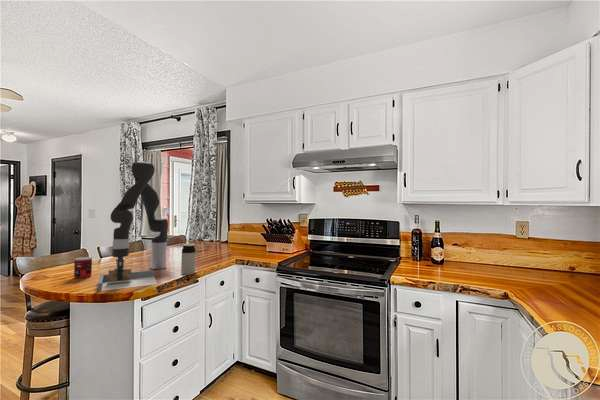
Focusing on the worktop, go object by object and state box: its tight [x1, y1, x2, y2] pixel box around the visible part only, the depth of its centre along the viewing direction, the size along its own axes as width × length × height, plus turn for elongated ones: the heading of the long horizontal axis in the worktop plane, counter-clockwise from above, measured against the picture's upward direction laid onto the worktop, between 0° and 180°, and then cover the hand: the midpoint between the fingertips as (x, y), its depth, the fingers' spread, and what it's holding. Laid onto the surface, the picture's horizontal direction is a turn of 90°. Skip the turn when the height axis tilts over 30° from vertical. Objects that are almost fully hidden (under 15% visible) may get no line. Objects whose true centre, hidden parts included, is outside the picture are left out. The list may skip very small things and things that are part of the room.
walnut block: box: [108, 266, 132, 282], centre depth 151 cm, size 10×5×6 cm, turn 122°
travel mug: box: [180, 243, 196, 276], centre depth 177 cm, size 8×8×18 cm
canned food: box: [73, 256, 93, 280], centre depth 163 cm, size 8×8×11 cm
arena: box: [97, 269, 158, 292], centre depth 152 cm, size 20×26×4 cm
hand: (119, 279), depth 151 cm, fingers closed on walnut block, 5 cm apart
